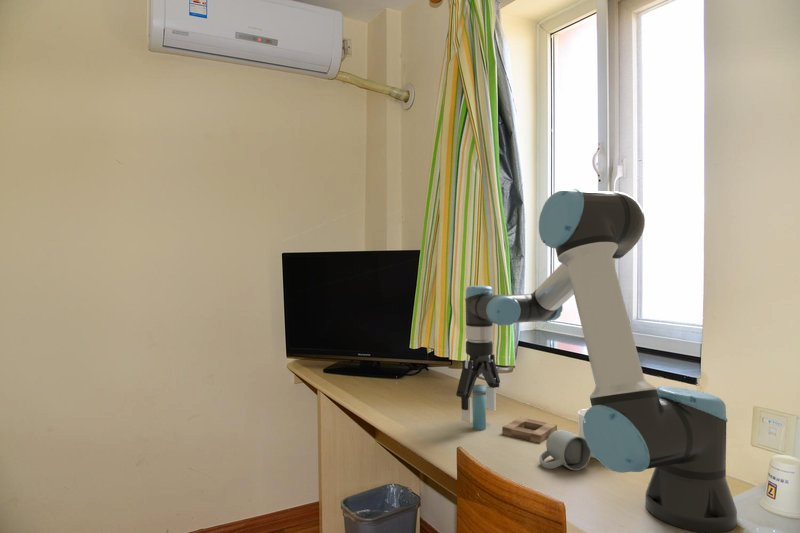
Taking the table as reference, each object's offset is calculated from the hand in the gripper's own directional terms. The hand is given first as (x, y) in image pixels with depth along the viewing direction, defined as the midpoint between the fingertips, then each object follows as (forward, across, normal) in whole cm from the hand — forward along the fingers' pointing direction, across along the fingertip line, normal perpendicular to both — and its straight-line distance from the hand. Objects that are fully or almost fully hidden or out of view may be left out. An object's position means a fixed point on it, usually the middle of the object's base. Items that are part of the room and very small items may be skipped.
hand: (479, 415), depth 148 cm
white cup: (+4, -1, +32) cm, 32 cm away
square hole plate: (+4, -5, +13) cm, 14 cm away
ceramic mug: (+4, +11, +29) cm, 31 cm away
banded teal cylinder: (+4, 0, 0) cm, 4 cm away
